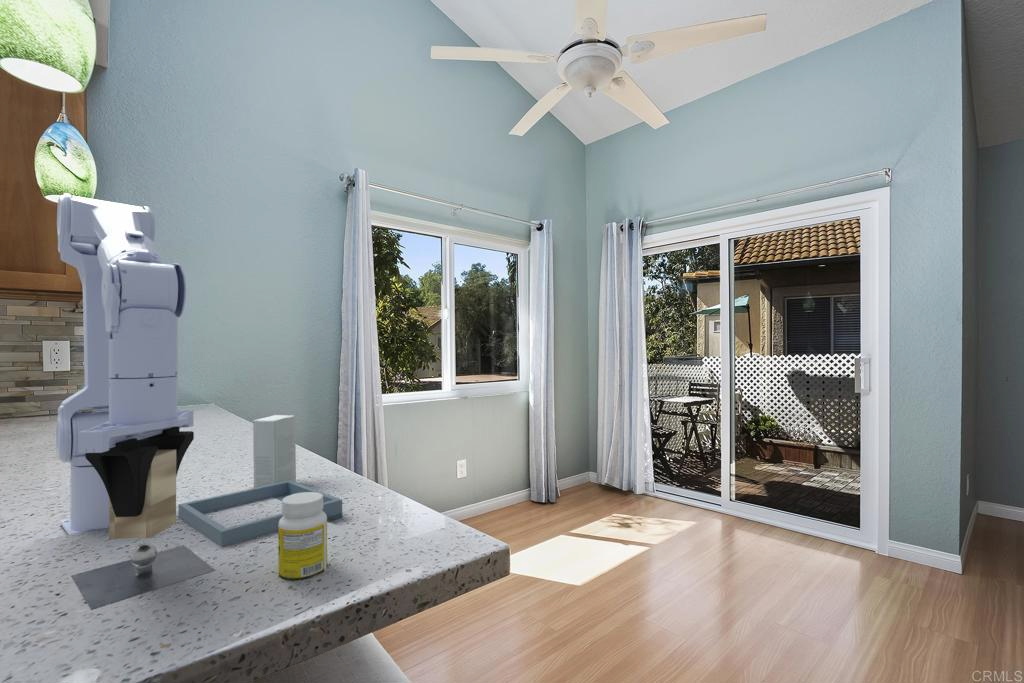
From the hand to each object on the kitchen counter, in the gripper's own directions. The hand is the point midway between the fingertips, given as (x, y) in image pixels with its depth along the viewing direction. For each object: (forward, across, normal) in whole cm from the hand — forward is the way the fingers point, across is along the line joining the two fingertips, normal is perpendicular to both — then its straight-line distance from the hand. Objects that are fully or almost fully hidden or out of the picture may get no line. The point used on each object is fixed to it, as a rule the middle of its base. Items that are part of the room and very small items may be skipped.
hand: (144, 507), depth 51 cm
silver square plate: (+8, 0, 0) cm, 8 cm away
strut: (+2, 0, 0) cm, 2 cm away
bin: (+8, +17, -5) cm, 19 cm away
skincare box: (+8, +34, 0) cm, 35 cm away
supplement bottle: (+8, -1, -16) cm, 18 cm away
